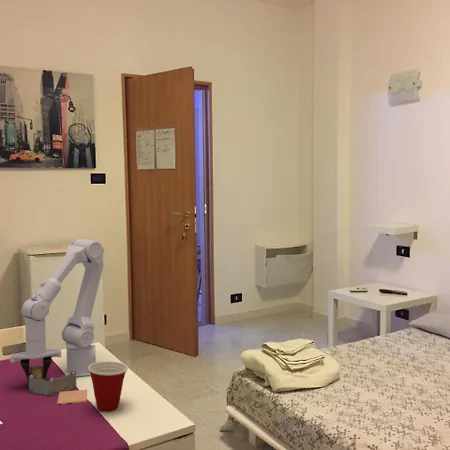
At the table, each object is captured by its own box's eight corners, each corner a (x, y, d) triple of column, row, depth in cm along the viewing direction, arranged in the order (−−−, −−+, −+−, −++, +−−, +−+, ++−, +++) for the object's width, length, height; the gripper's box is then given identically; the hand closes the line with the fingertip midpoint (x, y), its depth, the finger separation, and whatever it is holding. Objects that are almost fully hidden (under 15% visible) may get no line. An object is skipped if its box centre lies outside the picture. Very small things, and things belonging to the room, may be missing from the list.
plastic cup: (134, 410, 144) (133, 368, 143) (95, 419, 139) (94, 375, 138) (120, 396, 154) (120, 356, 153) (84, 404, 148) (83, 363, 147)
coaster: (87, 391, 158) (87, 389, 157) (86, 402, 150) (86, 400, 150) (59, 393, 156) (59, 391, 156) (57, 404, 148) (57, 403, 148)
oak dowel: (43, 383, 163) (43, 365, 162) (42, 388, 159) (42, 369, 159) (31, 384, 162) (30, 365, 161) (30, 389, 158) (29, 370, 158)
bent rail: (76, 387, 160) (76, 370, 160) (76, 394, 155) (75, 377, 155) (29, 391, 157) (29, 374, 157) (27, 398, 152) (26, 381, 151)
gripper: (59, 332, 166) (60, 374, 167) (10, 337, 160) (11, 380, 162) (61, 339, 159) (62, 382, 160) (9, 344, 154) (11, 388, 155)
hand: (36, 382), depth 161 cm, fingers closed on oak dowel, 4 cm apart
